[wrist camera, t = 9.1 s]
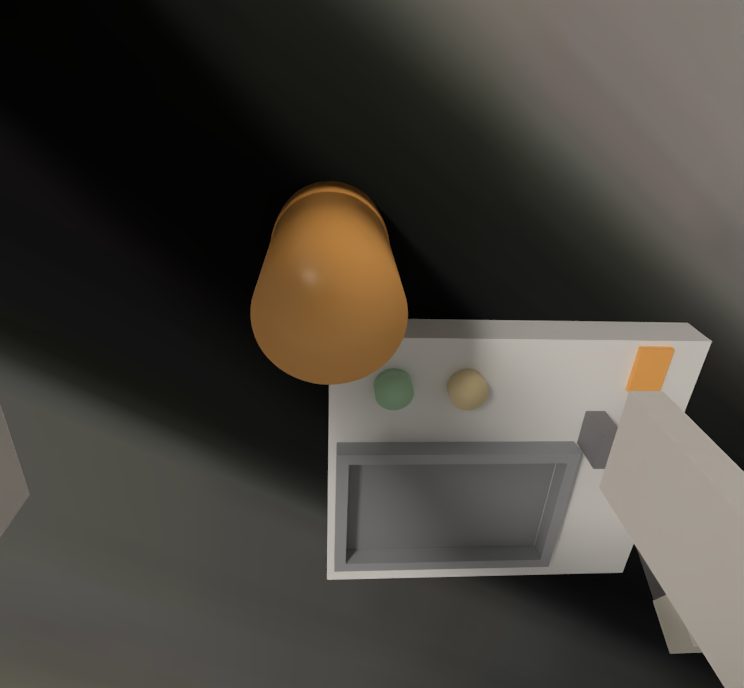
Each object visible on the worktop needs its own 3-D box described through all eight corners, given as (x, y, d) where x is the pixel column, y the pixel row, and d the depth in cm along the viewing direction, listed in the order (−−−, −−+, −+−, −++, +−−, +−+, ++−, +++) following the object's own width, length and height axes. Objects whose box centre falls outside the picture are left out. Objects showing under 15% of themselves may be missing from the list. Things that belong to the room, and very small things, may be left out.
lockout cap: (272, 177, 23) (243, 238, 15) (388, 181, 23) (416, 242, 16) (277, 286, 25) (253, 385, 18) (382, 288, 25) (403, 386, 18)
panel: (329, 317, 26) (329, 359, 22) (687, 322, 27) (740, 362, 24) (327, 552, 33) (326, 610, 30) (607, 546, 35) (638, 601, 31)
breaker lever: (616, 425, 27) (693, 646, 21) (662, 425, 27) (752, 644, 21) (601, 442, 28) (669, 653, 22) (645, 442, 28) (724, 651, 22)
